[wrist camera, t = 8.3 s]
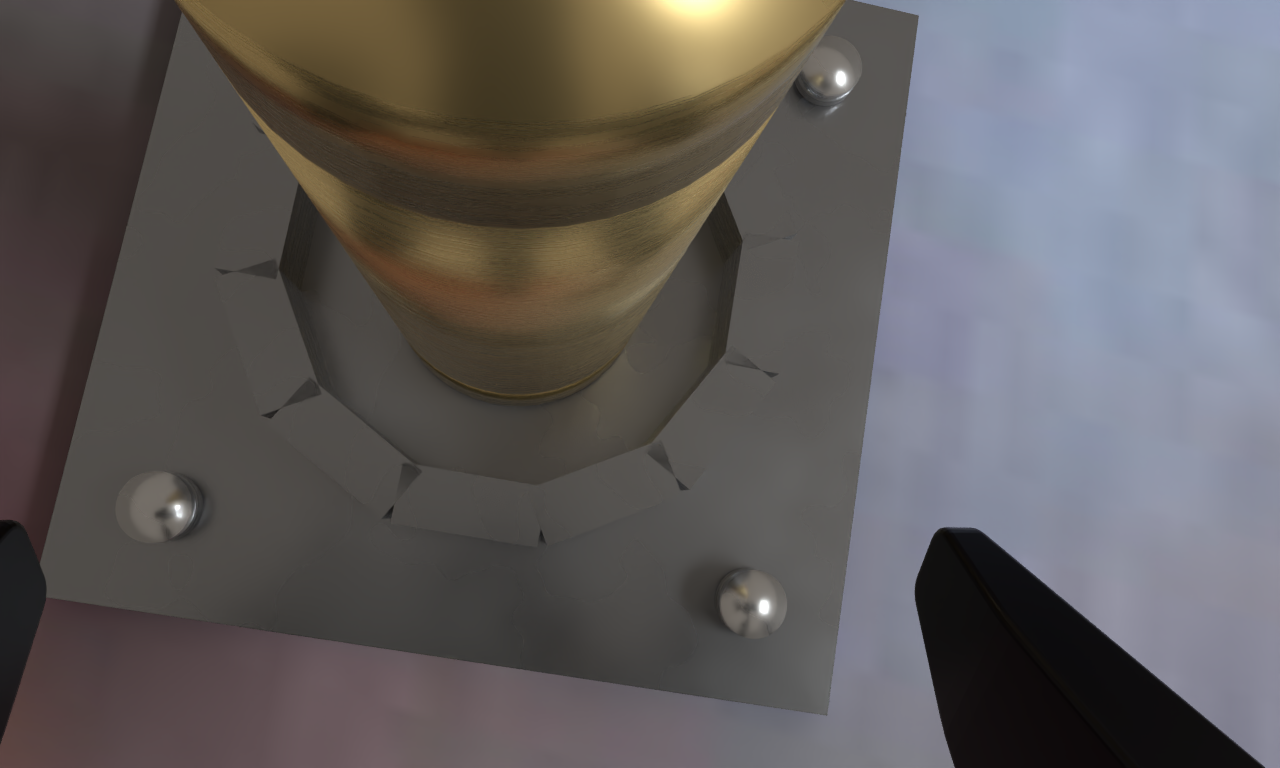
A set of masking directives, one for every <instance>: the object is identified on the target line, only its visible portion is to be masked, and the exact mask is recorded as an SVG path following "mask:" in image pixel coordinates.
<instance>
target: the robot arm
mask: <svg viewBox="0 0 1280 768" xmlns="http://www.w3.org/2000/svg"><path fill="white" fill-rule="evenodd" d="M46 593H47V586H46V580H45V576H44V574H43V571H42V569H41V566H40V564H39V561H38V559H37V556H36V554H35V552H34V549H33V547H32V544H31V542H30V539H29V537H28V534H27V532H26V530H25V528H24V527H23V526H22V525H21V524H20V523H18V522H17V521H13V520H0V743H1V741H2V738H3V735H4V732H5V729H6V726H7V723H8V720H9V716H10V713H11V710H12V707H13V704H14V701H15V697H16V694H17V691H18V688H19V685H20V681H21V678H22V675H23V672H24V669H25V666H26V662H27V659H28V656H29V653H30V650H31V646H32V643H33V640H34V637H35V634H36V631H37V627H38V624H39V621H40V618H41V615H42V611H43V608H44V605H45V601H46ZM915 601H916V607H917V611H918V616H919V621H920V625H921V630H922V635H923V639H924V644H925V649H926V653H927V658H928V663H929V667H930V672H931V677H932V681H933V686H934V691H935V695H936V700H937V705H938V709H939V714H940V718H941V722H942V726H943V730H944V734H945V738H946V741H947V744H948V748H949V751H950V754H951V757H952V760H953V763H954V766H955V768H1265V767H1264V766H1263V765H1262V764H1260V763H1259V762H1258V761H1257V760H1256V759H1254V758H1253V757H1252V756H1251V755H1250V754H1248V753H1247V752H1246V751H1245V750H1244V749H1242V748H1241V747H1240V746H1239V745H1238V744H1236V743H1235V742H1234V741H1233V740H1232V739H1230V738H1229V737H1228V736H1227V735H1226V734H1224V733H1223V732H1222V731H1221V730H1220V729H1218V728H1217V727H1216V726H1215V725H1214V724H1212V723H1211V722H1210V721H1209V720H1208V719H1206V718H1205V717H1204V716H1203V715H1202V714H1200V713H1199V712H1198V711H1197V710H1196V709H1194V708H1193V707H1192V706H1191V705H1190V704H1188V703H1187V702H1186V701H1185V700H1184V699H1182V698H1181V697H1180V696H1179V695H1178V694H1176V693H1175V692H1174V691H1173V690H1172V689H1170V688H1169V687H1168V686H1167V685H1166V684H1164V683H1163V682H1162V681H1161V680H1160V679H1158V678H1157V677H1156V676H1155V675H1154V674H1152V673H1151V672H1150V671H1149V670H1148V669H1146V668H1145V667H1144V666H1143V665H1142V664H1140V663H1139V662H1138V661H1137V660H1136V659H1134V658H1133V657H1132V656H1131V655H1130V654H1128V653H1127V652H1126V651H1125V650H1124V649H1122V648H1121V647H1120V646H1119V645H1118V644H1116V643H1115V642H1114V641H1113V640H1112V639H1110V638H1109V637H1108V636H1107V635H1106V634H1104V633H1103V632H1102V631H1101V630H1100V629H1098V628H1097V627H1096V626H1095V625H1094V624H1092V623H1091V622H1090V621H1089V620H1088V619H1086V618H1085V617H1084V616H1083V615H1082V614H1080V613H1079V612H1078V611H1077V610H1076V609H1074V608H1073V607H1072V606H1071V605H1070V604H1068V603H1067V602H1066V601H1065V600H1064V599H1062V598H1061V597H1060V596H1059V595H1058V594H1056V593H1055V592H1054V591H1053V590H1052V589H1050V588H1049V587H1048V586H1047V585H1046V584H1044V583H1043V582H1042V581H1041V580H1040V579H1038V578H1037V577H1036V576H1035V575H1034V574H1032V573H1031V572H1030V571H1029V570H1028V569H1026V568H1025V567H1024V566H1023V565H1022V564H1020V563H1019V562H1018V561H1017V560H1016V559H1014V558H1013V557H1012V556H1011V555H1010V554H1008V553H1007V552H1006V551H1005V550H1004V549H1002V548H1001V547H1000V546H999V545H998V544H996V543H995V542H994V541H993V540H992V539H990V538H989V537H988V536H987V535H986V534H984V533H983V532H981V531H980V530H978V529H975V528H952V527H944V528H941V529H939V530H938V531H937V532H936V533H935V534H934V536H933V538H932V540H931V542H930V545H929V548H928V550H927V553H926V555H925V558H924V561H923V563H922V566H921V568H920V571H919V573H918V576H917V579H916V584H915Z"/></svg>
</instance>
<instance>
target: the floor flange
mask: <svg viewBox="0 0 1280 768" xmlns="http://www.w3.org/2000/svg"><path fill="white" fill-rule="evenodd" d="M918 17H919V16H918V15H914V14H910V13H905V12H901V11H896V10H892V9H888V8H883V7H879V6H875V5H870V4H866V3H862V2H857V1H853V0H846V1H845V3H844V4H843V6H842V7H841V9H840V11H839V12H838V14H837V15H836V17H835V18H834V20H833V22H832V23H831V25H830V26H829V28H828V29H827V31H826V32H825V34H824V36H823V37H822V39H821V40H820V42H819V43H818V45H817V47H816V48H815V50H814V51H813V53H812V54H811V56H810V58H809V59H808V61H807V62H806V64H805V65H804V67H803V68H802V70H801V72H800V73H799V75H798V76H797V78H796V79H795V81H794V83H793V84H792V86H791V87H790V89H789V90H788V92H787V94H786V95H785V97H784V98H783V100H782V101H781V103H780V104H779V106H778V108H777V109H776V111H775V112H774V114H773V115H772V117H771V119H770V120H769V122H768V123H767V125H766V126H765V128H764V130H763V131H762V133H761V134H760V136H759V137H758V139H757V140H756V142H755V144H754V145H753V147H752V148H751V150H750V151H749V153H748V155H747V156H746V158H745V159H744V161H743V162H742V164H741V166H740V167H739V169H738V170H737V172H736V173H735V175H734V176H733V178H732V180H731V181H730V183H729V184H728V186H727V187H726V189H725V191H724V192H723V194H722V195H721V197H720V198H719V200H718V202H717V203H716V205H715V206H714V208H713V209H712V211H711V212H710V214H709V216H708V217H707V219H706V220H705V222H704V223H703V225H702V227H701V228H700V230H699V231H698V233H697V234H696V236H695V238H694V239H693V241H692V242H691V244H690V245H689V247H688V248H687V250H686V252H685V253H684V255H683V256H682V258H681V259H680V261H679V263H678V264H677V266H676V267H675V269H674V270H673V272H672V274H671V275H670V277H669V278H668V280H667V281H666V283H665V284H664V286H663V288H662V289H661V291H660V292H659V294H658V295H657V297H656V299H655V300H654V302H653V303H652V305H651V306H650V308H649V310H648V311H647V313H646V314H645V316H644V317H643V319H642V320H641V322H640V324H639V325H638V327H637V328H636V330H635V331H634V333H633V335H632V336H631V338H630V339H629V341H628V342H627V344H626V346H625V347H624V349H623V350H622V352H621V353H620V355H619V356H618V358H617V359H616V360H615V361H614V362H613V364H612V365H611V366H610V367H609V368H608V369H607V370H606V371H605V372H604V373H603V374H602V375H601V376H600V377H599V378H597V379H596V380H595V381H593V382H592V383H591V384H589V385H588V386H586V387H585V388H583V389H581V390H579V391H577V392H575V393H574V394H572V395H570V396H567V397H564V398H562V399H559V400H556V401H553V402H548V403H544V404H539V405H530V406H505V405H499V404H494V403H488V402H485V401H482V400H478V399H475V398H472V397H470V396H468V395H466V394H464V393H461V392H459V391H457V390H456V389H454V388H452V387H451V386H449V385H448V384H446V383H445V382H443V381H442V380H441V379H440V378H438V377H437V376H436V375H435V374H434V373H432V372H431V371H430V370H429V369H428V368H427V367H426V365H425V364H424V363H423V362H422V361H421V360H420V359H419V357H418V356H417V355H416V353H415V352H414V350H413V349H412V347H411V346H410V345H409V343H408V342H407V340H406V339H405V337H404V336H403V334H402V333H401V331H400V330H399V328H398V327H397V326H396V324H395V323H394V321H393V320H392V318H391V317H390V315H389V314H388V312H387V311H386V309H385V308H384V307H383V305H382V304H381V302H380V301H379V299H378V298H377V296H376V295H375V293H374V292H373V290H372V289H371V288H370V286H369V285H368V283H367V282H366V280H365V279H364V277H363V276H362V274H361V273H360V271H359V270H358V269H357V267H356V266H355V264H354V263H353V261H352V260H351V258H350V257H349V255H348V254H347V252H346V251H345V250H344V248H343V247H342V245H341V244H340V242H339V241H338V239H337V238H336V236H335V235H334V233H333V232H332V231H331V229H330V228H329V226H328V225H327V223H326V222H325V220H324V219H323V217H322V216H321V214H320V213H319V212H318V210H317V209H316V207H315V206H314V204H313V203H312V201H311V200H310V198H309V197H308V195H307V194H306V193H305V191H304V190H303V188H302V187H301V185H300V184H299V182H298V181H297V179H296V178H295V176H294V175H293V174H292V172H291V171H290V169H289V168H288V166H287V165H286V163H285V162H284V160H283V159H282V157H281V156H280V155H279V153H278V152H277V150H276V149H275V147H274V146H273V144H272V143H271V141H270V140H269V138H268V137H267V135H266V134H265V133H264V131H263V130H262V128H261V127H260V125H259V124H258V122H257V121H256V119H255V118H254V116H253V115H252V114H251V112H250V111H249V109H248V108H247V106H246V105H245V103H244V102H243V100H242V99H241V97H240V96H239V95H238V93H237V92H236V90H235V89H234V87H233V86H232V84H231V83H230V81H229V80H228V78H227V77H226V76H225V74H224V73H223V71H222V70H221V68H220V67H219V65H218V64H217V62H216V61H215V59H214V58H213V57H212V55H211V54H210V52H209V51H208V49H207V48H206V46H205V45H204V43H203V42H202V40H201V39H200V38H199V36H198V35H197V33H196V32H195V30H194V29H193V27H192V26H191V24H190V23H189V21H188V20H187V19H186V17H185V16H184V14H183V13H182V14H181V18H180V22H179V26H178V30H177V33H176V37H175V41H174V45H173V49H172V53H171V57H170V61H169V64H168V68H167V72H166V76H165V80H164V84H163V88H162V92H161V96H160V99H159V103H158V107H157V111H156V115H155V119H154V123H153V127H152V130H151V134H150V138H149V142H148V146H147V150H146V154H145V158H144V161H143V165H142V169H141V173H140V177H139V181H138V185H137V189H136V192H135V196H134V200H133V204H132V208H131V212H130V216H129V220H128V224H127V227H126V231H125V235H124V239H123V243H122V247H121V251H120V255H119V258H118V262H117V266H116V270H115V274H114V278H113V282H112V286H111V289H110V293H109V297H108V301H107V305H106V309H105V313H104V317H103V321H102V324H101V328H100V332H99V336H98V340H97V344H96V348H95V352H94V355H93V359H92V363H91V367H90V371H89V375H88V379H87V383H86V386H85V390H84V394H83V398H82V402H81V406H80V410H79V414H78V417H77V421H76V425H75V429H74V433H73V437H72V441H71V445H70V449H69V452H68V456H67V460H66V464H65V468H64V472H63V476H62V480H61V483H60V487H59V491H58V495H57V499H56V503H55V507H54V511H53V514H52V518H51V522H50V526H49V530H48V534H47V538H46V542H45V545H44V549H43V553H42V557H41V561H40V566H41V569H42V571H43V574H44V576H45V580H46V586H47V593H46V597H47V598H54V599H60V600H67V601H74V602H80V603H87V604H93V605H100V606H107V607H113V608H120V609H126V610H133V611H140V612H146V613H153V614H160V615H166V616H173V617H179V618H186V619H193V620H199V621H206V622H212V623H219V624H226V625H232V626H239V627H245V628H252V629H259V630H265V631H272V632H279V633H285V634H292V635H298V636H305V637H312V638H318V639H325V640H331V641H338V642H345V643H351V644H358V645H364V646H371V647H378V648H384V649H391V650H397V651H404V652H411V653H417V654H424V655H431V656H437V657H444V658H450V659H457V660H464V661H470V662H477V663H483V664H490V665H497V666H503V667H510V668H516V669H523V670H530V671H536V672H543V673H550V674H556V675H563V676H569V677H576V678H583V679H589V680H596V681H602V682H609V683H616V684H622V685H629V686H635V687H642V688H649V689H655V690H662V691H669V692H675V693H682V694H688V695H695V696H702V697H708V698H715V699H721V700H728V701H735V702H741V703H748V704H754V705H761V706H768V707H774V708H781V709H788V710H794V711H801V712H807V713H814V714H821V715H827V712H828V705H829V697H830V689H831V682H832V674H833V666H834V659H835V651H836V643H837V636H838V628H839V621H840V613H841V605H842V598H843V590H844V582H845V575H846V567H847V559H848V552H849V544H850V537H851V529H852V521H853V514H854V506H855V498H856V491H857V483H858V475H859V468H860V460H861V453H862V445H863V437H864V430H865V422H866V414H867V407H868V399H869V391H870V384H871V376H872V368H873V361H874V353H875V346H876V338H877V330H878V323H879V315H880V307H881V300H882V292H883V284H884V277H885V269H886V262H887V254H888V246H889V239H890V231H891V223H892V216H893V208H894V200H895V193H896V185H897V178H898V170H899V162H900V155H901V147H902V139H903V132H904V124H905V116H906V109H907V101H908V94H909V86H910V78H911V71H912V63H913V55H914V48H915V40H916V32H917V25H918Z"/></svg>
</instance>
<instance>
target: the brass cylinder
mask: <svg viewBox="0 0 1280 768" xmlns="http://www.w3.org/2000/svg"><path fill="white" fill-rule="evenodd" d="M174 1H175V2H176V4H177V5H178V7H179V8H180V10H181V11H182V13H183V14H184V16H185V17H186V19H187V20H188V21H189V23H190V24H191V26H192V27H193V29H194V30H195V32H196V33H197V35H198V36H199V38H200V39H201V40H202V42H203V43H204V45H205V46H206V48H207V49H208V51H209V52H210V54H211V55H212V57H213V58H214V59H215V61H216V62H217V64H218V65H219V67H220V68H221V70H222V71H223V73H224V74H225V76H226V77H227V78H228V80H229V81H230V83H231V84H232V86H233V87H234V89H235V90H236V92H237V93H238V95H239V96H240V97H241V99H242V100H243V102H244V103H245V105H246V106H247V108H248V109H249V111H250V112H251V114H252V115H253V116H254V118H255V119H256V121H257V122H258V124H259V125H260V127H261V128H262V130H263V131H264V133H265V134H266V135H267V137H268V138H269V140H270V141H271V143H272V144H273V146H274V147H275V149H276V150H277V152H278V153H279V155H280V156H281V157H282V159H283V160H284V162H285V163H286V165H287V166H288V168H289V169H290V171H291V172H292V174H293V175H294V176H295V178H296V179H297V181H298V182H299V184H300V185H301V187H302V188H303V190H304V191H305V193H306V194H307V195H308V197H309V198H310V200H311V201H312V203H313V204H314V206H315V207H316V209H317V210H318V212H319V213H320V214H321V216H322V217H323V219H324V220H325V222H326V223H327V225H328V226H329V228H330V229H331V231H332V232H333V233H334V235H335V236H336V238H337V239H338V241H339V242H340V244H341V245H342V247H343V248H344V250H345V251H346V252H347V254H348V255H349V257H350V258H351V260H352V261H353V263H354V264H355V266H356V267H357V269H358V270H359V271H360V273H361V274H362V276H363V277H364V279H365V280H366V282H367V283H368V285H369V286H370V288H371V289H372V290H373V292H374V293H375V295H376V296H377V298H378V299H379V301H380V302H381V304H382V305H383V307H384V308H385V309H386V311H387V312H388V314H389V315H390V317H391V318H392V320H393V321H394V323H395V324H396V326H397V327H398V328H399V330H400V331H401V333H402V334H403V336H404V337H405V339H406V340H407V342H408V343H409V345H410V346H411V347H412V349H413V350H414V352H415V353H416V355H417V356H418V357H419V359H420V360H421V361H422V362H423V363H424V364H425V365H426V367H427V368H428V369H429V370H430V371H431V372H432V373H434V374H435V375H436V376H437V377H438V378H440V379H441V380H442V381H443V382H445V383H446V384H448V385H449V386H451V387H452V388H454V389H456V390H457V391H459V392H461V393H464V394H466V395H468V396H470V397H472V398H475V399H478V400H482V401H485V402H488V403H494V404H499V405H505V406H530V405H539V404H544V403H548V402H553V401H556V400H559V399H562V398H564V397H567V396H570V395H572V394H574V393H575V392H577V391H579V390H581V389H583V388H585V387H586V386H588V385H589V384H591V383H592V382H593V381H595V380H596V379H597V378H599V377H600V376H601V375H602V374H603V373H604V372H605V371H606V370H607V369H608V368H609V367H610V366H611V365H612V364H613V362H614V361H615V360H616V359H617V358H618V356H619V355H620V353H621V352H622V350H623V349H624V347H625V346H626V344H627V342H628V341H629V339H630V338H631V336H632V335H633V333H634V331H635V330H636V328H637V327H638V325H639V324H640V322H641V320H642V319H643V317H644V316H645V314H646V313H647V311H648V310H649V308H650V306H651V305H652V303H653V302H654V300H655V299H656V297H657V295H658V294H659V292H660V291H661V289H662V288H663V286H664V284H665V283H666V281H667V280H668V278H669V277H670V275H671V274H672V272H673V270H674V269H675V267H676V266H677V264H678V263H679V261H680V259H681V258H682V256H683V255H684V253H685V252H686V250H687V248H688V247H689V245H690V244H691V242H692V241H693V239H694V238H695V236H696V234H697V233H698V231H699V230H700V228H701V227H702V225H703V223H704V222H705V220H706V219H707V217H708V216H709V214H710V212H711V211H712V209H713V208H714V206H715V205H716V203H717V202H718V200H719V198H720V197H721V195H722V194H723V192H724V191H725V189H726V187H727V186H728V184H729V183H730V181H731V180H732V178H733V176H734V175H735V173H736V172H737V170H738V169H739V167H740V166H741V164H742V162H743V161H744V159H745V158H746V156H747V155H748V153H749V151H750V150H751V148H752V147H753V145H754V144H755V142H756V140H757V139H758V137H759V136H760V134H761V133H762V131H763V130H764V128H765V126H766V125H767V123H768V122H769V120H770V119H771V117H772V115H773V114H774V112H775V111H776V109H777V108H778V106H779V104H780V103H781V101H782V100H783V98H784V97H785V95H786V94H787V92H788V90H789V89H790V87H791V86H792V84H793V83H794V81H795V79H796V78H797V76H798V75H799V73H800V72H801V70H802V68H803V67H804V65H805V64H806V62H807V61H808V59H809V58H810V56H811V54H812V53H813V51H814V50H815V48H816V47H817V45H818V43H819V42H820V40H821V39H822V37H823V36H824V34H825V32H826V31H827V29H828V28H829V26H830V25H831V23H832V22H833V20H834V18H835V17H836V15H837V14H838V12H839V11H840V9H841V7H842V6H843V4H844V3H845V1H846V0H174Z"/></svg>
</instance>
